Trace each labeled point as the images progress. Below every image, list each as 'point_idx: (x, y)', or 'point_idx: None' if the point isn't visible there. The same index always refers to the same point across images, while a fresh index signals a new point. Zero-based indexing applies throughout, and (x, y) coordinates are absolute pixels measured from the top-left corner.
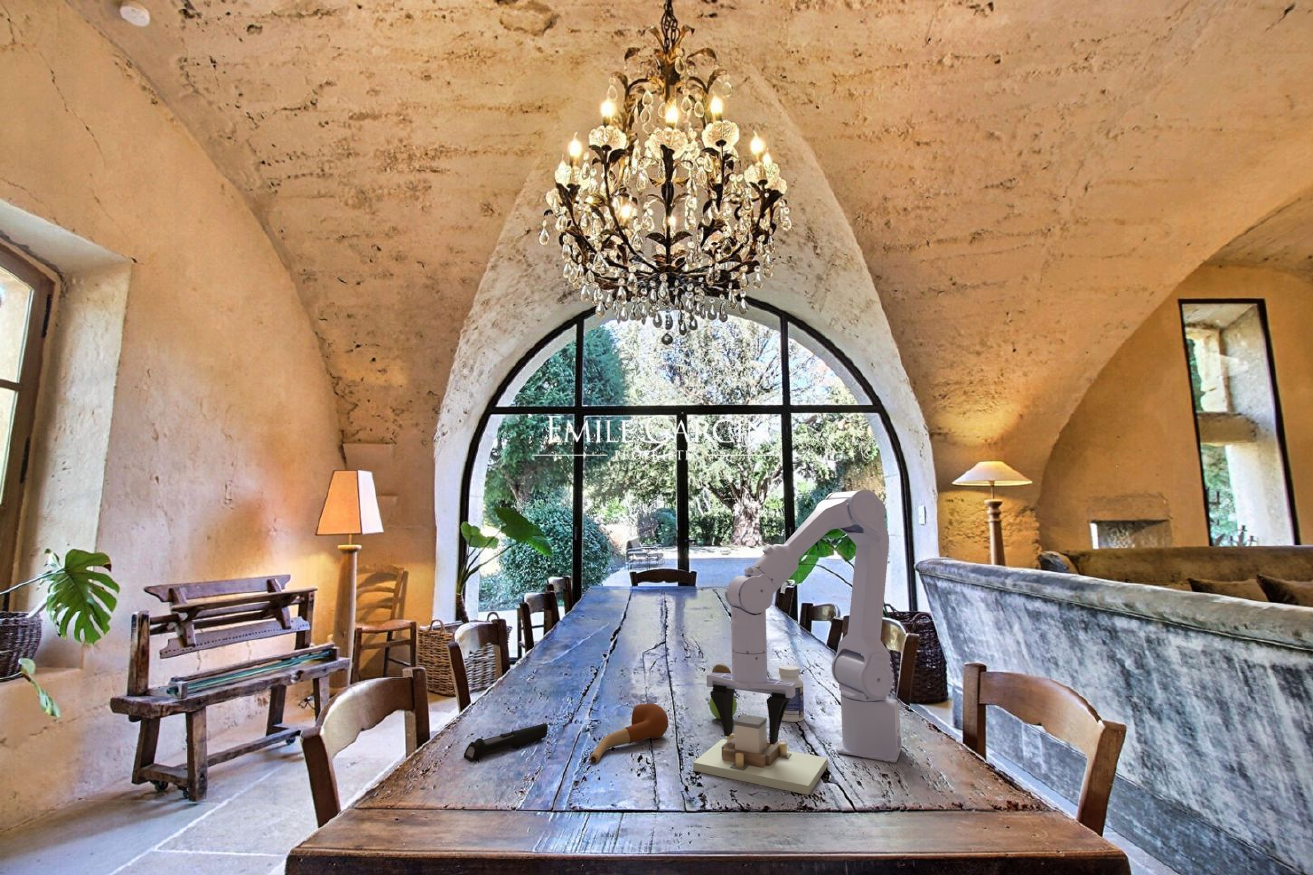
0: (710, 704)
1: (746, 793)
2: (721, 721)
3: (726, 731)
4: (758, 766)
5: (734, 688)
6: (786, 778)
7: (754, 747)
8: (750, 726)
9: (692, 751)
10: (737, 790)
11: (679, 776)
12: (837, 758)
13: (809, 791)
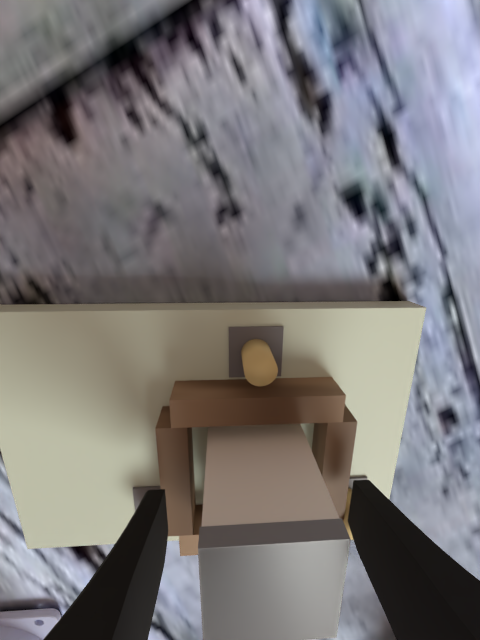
0: None
1: (177, 212)
2: (419, 529)
3: (369, 493)
4: (192, 381)
5: None
6: (62, 336)
7: (225, 453)
8: (248, 530)
9: (448, 437)
10: (215, 221)
11: (440, 232)
12: (44, 580)
13: None
